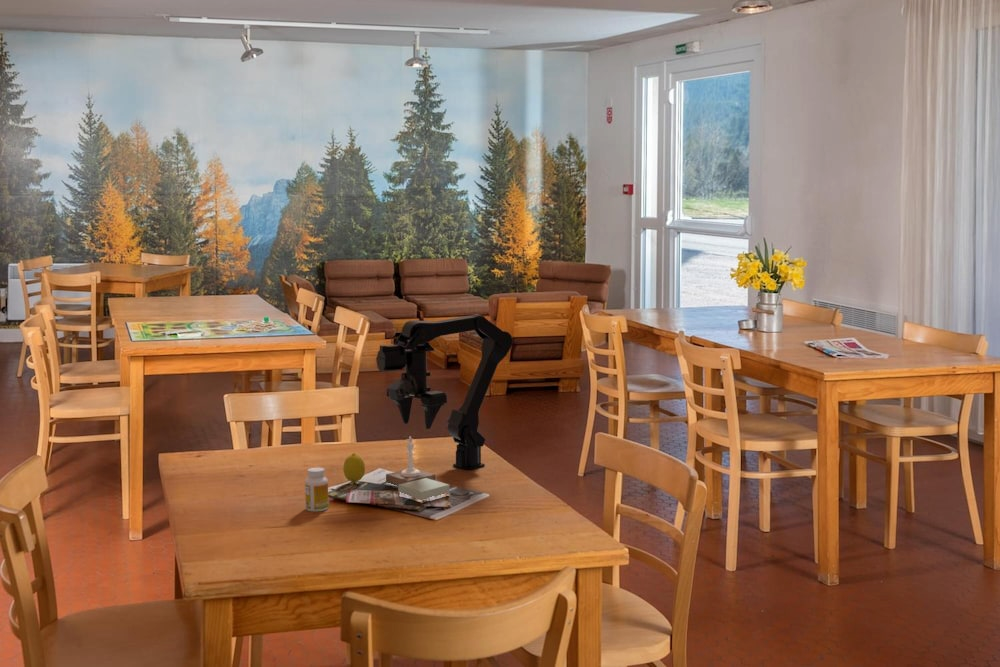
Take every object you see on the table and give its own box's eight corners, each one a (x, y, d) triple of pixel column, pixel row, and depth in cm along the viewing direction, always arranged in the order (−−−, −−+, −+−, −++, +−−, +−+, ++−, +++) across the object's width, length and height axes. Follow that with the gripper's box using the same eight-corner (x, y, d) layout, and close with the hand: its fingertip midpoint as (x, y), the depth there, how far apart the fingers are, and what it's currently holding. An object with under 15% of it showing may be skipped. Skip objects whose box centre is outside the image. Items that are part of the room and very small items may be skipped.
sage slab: (426, 489, 281) (425, 477, 281) (449, 496, 275) (449, 484, 275) (398, 496, 275) (398, 484, 275) (421, 503, 269) (421, 491, 268)
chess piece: (399, 472, 286) (398, 435, 285) (418, 471, 288) (417, 433, 286) (403, 477, 281) (402, 439, 280) (422, 476, 283) (421, 437, 282)
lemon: (354, 479, 291) (354, 449, 290) (369, 483, 288) (369, 453, 287) (339, 484, 287) (338, 453, 286) (354, 487, 283) (353, 457, 282)
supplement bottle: (332, 506, 267) (331, 467, 266) (322, 512, 262) (321, 472, 260) (311, 504, 268) (310, 465, 267) (302, 511, 263) (300, 471, 262)
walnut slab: (413, 479, 291) (412, 468, 291) (435, 485, 285) (435, 474, 284) (386, 485, 285) (385, 474, 285) (408, 492, 279) (408, 480, 278)
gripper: (370, 367, 294) (371, 425, 296) (415, 376, 281) (416, 436, 283) (402, 363, 302) (403, 419, 304) (448, 371, 289) (448, 429, 291)
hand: (416, 426), depth 295 cm, fingers open, 9 cm apart
